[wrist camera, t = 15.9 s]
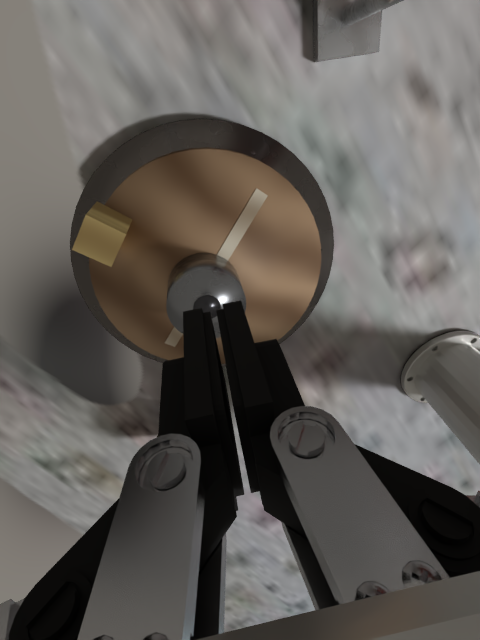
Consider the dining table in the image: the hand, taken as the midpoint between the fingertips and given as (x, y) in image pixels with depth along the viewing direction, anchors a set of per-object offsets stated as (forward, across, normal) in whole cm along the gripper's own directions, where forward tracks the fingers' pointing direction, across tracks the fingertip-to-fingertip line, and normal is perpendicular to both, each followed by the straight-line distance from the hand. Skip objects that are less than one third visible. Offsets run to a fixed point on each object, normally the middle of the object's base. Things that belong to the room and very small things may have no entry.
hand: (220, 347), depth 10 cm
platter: (+24, 0, +8) cm, 25 cm away
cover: (+22, +1, +9) cm, 24 cm away
